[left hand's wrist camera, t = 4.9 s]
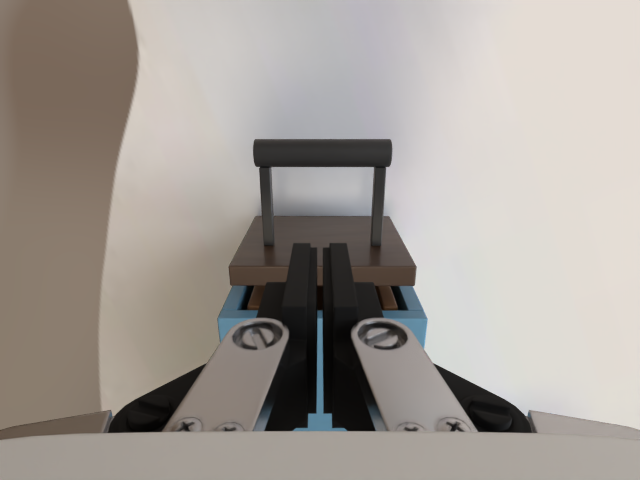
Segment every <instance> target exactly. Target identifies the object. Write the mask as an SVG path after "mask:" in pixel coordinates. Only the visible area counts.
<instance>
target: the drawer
mask: <svg viewBox="0 0 640 480" xmlns="http://www.w3.org/2000/svg"><path fill="white" fill-rule="evenodd" d="M253 156H254V163H255V166H256V167H260V168H259V172H260V190H261V207H262V216H256V217H255V218H254V220H253V222H252V224H251V226H250V228H249V229H248V231H247V233H246V235H245V237H244V239H243V241H242V243H241V244H240V246H239V248H238V250H237V252H236V254H235V256H234V258H233V259H232V261H231V263H230V265H229V276H230V285H231V286H254V289H253V292H252V295H251V298H250V301H249V303H248V306H247V309H248V310H258V309H259V306H260V302H261V299H262V296H263V292H264V289H265V285H266V283H267V282H286V279H287V274H288V269H289V263H290V258H291V253H292V247H293V243H311V247H317V310H323V247H329V243H347V247H348V253H349V258H350V263H351V269H352V274H353V279H354V282H373V283H374V285H375V289H376V292H377V296H378V299H379V302H380V306H381V309H382V311H397V309H398V307H397V304H396V301H395V298H394V295H393V293H392V290H391V287H390V286H414V285H415V278H416V268H417V267H416V265H415V263H414V261H413V259H412V258H411V256H410V254H409V252H408V250H407V248H406V246H405V245H404V243H403V241H402V239H401V237H400V235H399V234H398V232H397V230H396V228H395V226H394V224H393V222H392V221H391V219H390V217H389V216H383V210H384V194H385V178H386V167H389V166H390V165H391V160H392V142H391V140H390V139H255V140H254V145H253ZM271 167H374V178H373V198H372V216H273V195H272V173H271Z"/></svg>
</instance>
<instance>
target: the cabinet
mask: <svg viewBox="0 0 640 480" xmlns="http://www.w3.org/2000/svg"><path fill="white" fill-rule="evenodd" d="M390 287H391V290H392V293H393V295H394V298H395V301H396V304H397V307H398V309H397V311H382V313H383V316H384V318H387V319H392V320H395V321H398V322H400V323H402V324H404V325H405V326H407V327H408V328H409V329H410V330H411V331H412V332H413V334H414V335H415V337H416V338H417V340H418V341H419V343H420V344H421V346H422V347H423V349H424V346H425V337H426V329H427V321H428V319H427V317H426V315H425V312H424V310H423V308H422V306H421V303H420V301H419V299H418V297H417V295H416V293H415V291H414V288H413V286H390ZM253 289H254V286H232V288H231V291H230V293H229V295H228V297H227V299H226V301H225V304H224V306H223V308H222V310H221V312H220V314H219V316H218V328H219V337H220V343H221V341H222V340H223V338H224V337H225V335H226V334H227V332H228V331H229V330H230V329H231V328H232V327H233V326H235V325H236V324H238V323H240V322H242V321H245V320H248V319H253V318H256V316H257V313H258V310H248V309H247V306H248V303H249V301H250V298H251V295H252V292H253ZM293 431H347V430H346V429H344V428H332V414H323V310H317V414H308V428H296V429H294V430H293Z"/></svg>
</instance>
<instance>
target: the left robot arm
mask: <svg viewBox="0 0 640 480" xmlns="http://www.w3.org/2000/svg"><path fill="white" fill-rule="evenodd" d="M308 414H317V247H311V243H293V247H292V253H291V258H290V263H289V269H288V274H287V279H286V282H267V283H266V285H265V289H264V292H263V296H262V299H261V302H260V306H259V309H258V313H257V316H256V318H253V319H248V320H245V321H242V322H240V323H238V324H236V325H235V326H233V327H232V328H231V329H230V330H229V331H228V332H227V334H226V335H225V337H224V338H223V340H222V341H221V343H220V344H219V346H218V347H217V349H216V350H215V352H214V353H213V355H212V356H211V358H210V359H209V361H208V362H207V363H206V364H204V365H202V366H200V367H198V368H196V369H194V370H192V371H190V372H189V373H187V374H185V375H183V376H181V377H179V378H177V379H175V380H173V381H171V382H169V383H167V384H165V385H163V386H161V387H159V388H157V389H155V390H153V391H151V392H149V393H147V394H145V395H143V396H141V397H139V398H137V399H135V400H134V401H132V402H131V403H129V404H127V405H126V406H124V407H123V408H122V409H121V410H120V411H119V412H118V413H117V414H116V415H115V416H112V412H111V410H108V411H102V412H96V413H90V414H84V415H78V416H73V417H67V418H61V419H55V420H49V421H43V422H37V423H31V424H25V425H19V426H13V427H9V428H6V429H2V430H0V480H640V430H638V429H634V428H631V427H627V426H621V425H615V424H609V423H603V422H597V421H591V420H585V419H579V418H573V417H568V416H562V415H556V414H550V413H544V412H538V411H532V410H529V412H528V416H525V415H524V414H523V413H522V412H521V411H520V410H519V409H518V408H517V407H516V406H514V405H513V404H511V403H509V402H508V401H506V400H505V399H503V398H501V397H499V396H497V395H495V394H493V393H491V392H489V391H487V390H485V389H483V388H481V387H479V386H477V385H475V384H473V383H471V382H469V381H467V380H465V379H463V378H461V377H459V376H457V375H455V374H453V373H451V372H450V371H448V370H446V369H444V368H442V367H440V366H438V365H436V364H434V363H433V362H432V361H431V359H430V358H429V356H428V355H427V353H426V352H425V350H424V349H423V347H422V346H421V344H420V343H419V341H418V340H417V338H416V337H415V335H414V334H413V332H412V331H411V330H410V329H409V328H408V327H407V326H405V325H404V324H402V323H400V322H398V321H395V320H392V319H387V318H384V316H383V313H382V309H381V306H380V302H379V299H378V296H377V292H376V289H375V285H374V283H373V282H354V279H353V274H352V269H351V263H350V258H349V253H348V247H347V243H329V247H323V414H332V428H344V429H346V430H347V431H293V430H294V429H296V428H308Z"/></svg>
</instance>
